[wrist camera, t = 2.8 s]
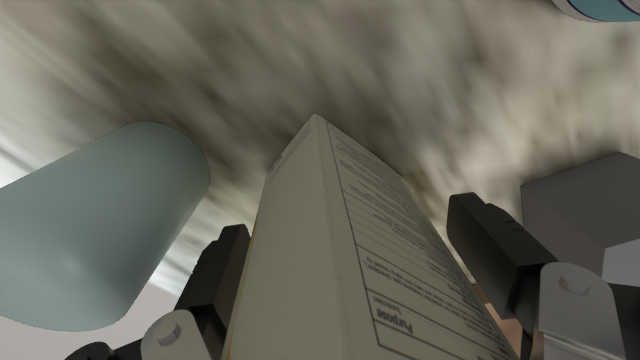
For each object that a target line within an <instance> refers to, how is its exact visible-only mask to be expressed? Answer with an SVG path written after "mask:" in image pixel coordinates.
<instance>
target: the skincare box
mask: <svg viewBox="0 0 640 360" xmlns="http://www.w3.org/2000/svg"><path fill="white" fill-rule="evenodd" d="M220 360H520V359H519V357H518V356H517V354H516V353H515V351H514V349H513V348H512V346H511V345H510V343H509V342H508V340H507V339H506V337H505V335H504V334H503V332H502V331H501V329H500V328H499V326H498V325H497V323H496V321H495V320H494V318H493V317H492V315H491V314H490V312H489V311H488V309H487V308H486V306H485V304H484V303H483V301H482V300H481V298H480V297H479V295H478V294H477V292H476V291H475V289H474V287H473V286H472V284H471V283H470V281H469V280H468V278H467V277H466V275H465V274H464V272H463V271H462V269H461V267H460V266H459V264H458V263H457V261H456V260H455V258H454V257H453V255H452V254H451V252H450V251H449V249H448V248H447V246H446V244H445V243H444V241H443V240H442V238H441V237H440V235H439V234H438V232H437V231H436V229H435V228H434V226H433V224H432V223H431V221H430V220H429V218H428V217H427V215H426V214H425V212H424V211H423V209H422V207H421V206H420V204H419V203H418V201H417V200H416V198H415V197H414V195H413V193H412V192H411V190H410V189H409V187H408V186H407V184H406V182H405V181H404V179H403V178H402V177H401V176H400V175H399V174H398V173H396V172H395V171H394V170H393V169H391V168H390V167H389V166H388V165H386V164H385V163H384V162H383V161H381V160H380V159H379V158H378V157H376V156H375V155H374V154H372V153H371V152H370V151H368V150H367V149H366V148H364V147H363V146H362V145H360V144H359V143H357V142H356V141H355V140H353V139H352V138H351V137H349V136H348V135H347V134H345V133H344V132H342V131H341V130H340V129H338V128H337V127H335V126H334V125H332V124H331V123H330V122H328V121H327V120H325V119H324V118H322V117H321V116H319V115H318V114H313V115H312V116H311V117H310V118H309V120H308V121H307V122H306V123H305V124H304V126H303V127H302V128H301V129H300V131H299V132H298V133H297V134H296V136H295V137H294V138H293V139H292V141H291V142H290V143H289V144H288V146H287V147H286V148H285V150H284V151H283V152H282V154H281V155H280V156H279V158H278V159H277V160H276V162H275V163H274V165H273V166H272V168H271V169H270V170H269V172H268V174H267V177H266V180H265V184H264V188H263V192H262V196H261V200H260V204H259V208H258V212H257V216H256V220H255V224H254V228H253V232H252V236H251V240H250V244H249V248H248V252H247V256H246V260H245V264H244V267H243V271H242V276H241V279H240V283H239V287H238V291H237V295H236V299H235V303H234V306H233V311H232V315H231V319H230V323H229V327H228V331H227V335H226V339H225V343H224V347H223V351H222V355H221V359H220Z"/></svg>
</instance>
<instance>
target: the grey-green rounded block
mask: <svg viewBox="0 0 640 360" xmlns="http://www.w3.org/2000/svg"><path fill="white" fill-rule="evenodd" d="M209 182H210V172H209V167H208V164H207V161H206V159H205V157H204V155H203V153H202V152H201V150H200V149H199V148H198V146H197V145H196V144H195V143H194V142H193V141H192V140H191V139H189V138H188V137H187V136H186V135H184V134H183V133H181V132H180V131H178V130H176V129H174V128H172V127H170V126H167V125H164V124H161V123H156V122H147V121H142V122H134V123H130V124H128V125H125V126H123V127H121V128H119V129H117V130H115V131H113V132H111V133H109V134H107V135H105V136H103V137H101V138H99V139H97V140H95V141H93V142H91V143H89V144H87V145H85V146H84V147H82V148H80V149H78V150H76V151H74V152H72V153H70V154H68V155H66V156H64V157H62V158H60V159H58V160H56V161H54V162H52V163H50V164H48V165H46V166H44V167H42V168H40V169H38V170H36V171H34V172H32V173H30V174H28V175H26V176H24V177H22V178H20V179H18V180H16V181H14V182H12V183H10V184H8V185H6V186H4V187H2V188H0V315H1V316H3V317H6V318H8V319H11V320H14V321H16V322H20V323H22V324H26V325H30V326H34V327H38V328H43V329H49V330H55V331H68V332H80V331H90V330H96V329H100V328H104V327H107V326H109V325H111V324H114V323H115V322H117V321H119V320H120V319H121V318H122V317H123V316H125V314H126V313H127V312H128V310H129V309H130V307H131V306H132V304H133V303H134V301H135V300H136V298H137V297H138V295H139V294H140V292H141V291H142V289H143V287H144V286H145V284H146V283H147V281H148V280H149V278H150V277H151V275H152V274H153V272H154V271H155V269H156V268H157V266H158V265H159V263H160V262H161V260H162V258H163V257H164V255H165V254H166V252H167V251H168V249H169V248H170V246H171V245H172V243H173V242H174V240H175V239H176V237H177V236H178V234H179V233H180V231H181V230H182V228H183V226H184V225H185V223H186V222H187V220H188V219H189V217H190V216H191V214H192V213H193V211H194V210H195V208H196V207H197V205H198V204H199V202H200V201H201V199H202V198H203V196H204V194H205V193H206V191H207V189H208V186H209Z"/></svg>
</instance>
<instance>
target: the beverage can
mask: <svg viewBox="0 0 640 360" xmlns="http://www.w3.org/2000/svg"><path fill="white" fill-rule="evenodd" d="M552 1H553V3H554V4H555V5H556V6H557V7H558V8H559V9H560V10H561V11H563V12H564V13H565V14H567V15H569V16H571V17H573V18H576V19H578V20H582V21H587V22H628V21H640V0H552Z"/></svg>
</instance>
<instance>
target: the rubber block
mask: <svg viewBox="0 0 640 360" xmlns="http://www.w3.org/2000/svg"><path fill="white" fill-rule="evenodd" d="M520 189H521V201H522V213H523V225H524V230H525V231H526V230H527V231H528V232H529V233H530V234H531V235H532V236H533V237H534V238H535V239H536V240H537V241H538V242H539V243H541V244H542V245H543V246H544V247H545V248H546V249H547V250H548V251H549V252H550V253H551V254H552V255H554V256H555V257H556V258H557V259H558V260H559V261H560V262H564V263H570V264H574V265H577V266H580V267H583V268H585V269H587V270H590V271H591V272H593V273H595V274H596V275H598V276H599V277H601V278H602V279H603V280H604V281H605V282H606V283H613V284H621V285H630V286H638V287H640V159H638V158H635V157H633V156H630V155H628V154H625V153H622V152H617V153H615V154H612V155H609V156H606V157H603V158H600V159H597V160H594V161H591V162H589V163H586V164H583V165H580V166H577V167H574V168H571V169H568V170H565V171H563V172H560V173H557V174H554V175H551V176H548V177H545V178H542V179H539V180H537V181H534V182H531V183H528V184H525V185H522V186H520Z"/></svg>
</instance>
